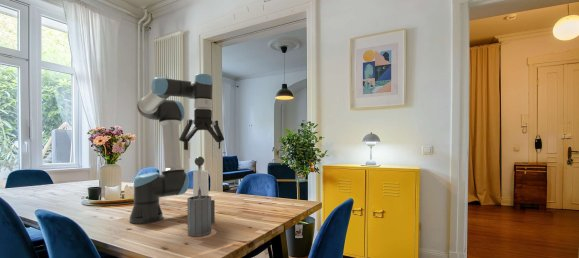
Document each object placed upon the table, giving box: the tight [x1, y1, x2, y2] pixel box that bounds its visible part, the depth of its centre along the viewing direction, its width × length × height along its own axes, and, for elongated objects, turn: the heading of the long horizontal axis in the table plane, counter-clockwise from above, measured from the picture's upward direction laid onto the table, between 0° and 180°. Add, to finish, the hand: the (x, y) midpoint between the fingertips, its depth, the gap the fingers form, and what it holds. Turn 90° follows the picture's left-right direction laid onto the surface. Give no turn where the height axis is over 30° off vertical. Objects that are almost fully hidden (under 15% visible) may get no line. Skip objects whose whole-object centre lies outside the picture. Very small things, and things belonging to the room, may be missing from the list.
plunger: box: [193, 156, 206, 200], centre depth 121 cm, size 6×6×19 cm
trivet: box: [181, 228, 218, 240], centre depth 120 cm, size 14×14×1 cm
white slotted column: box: [192, 170, 209, 197], centre depth 139 cm, size 7×7×25 cm
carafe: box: [186, 195, 216, 237], centre depth 121 cm, size 10×12×15 cm
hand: (202, 157), depth 126 cm, fingers open, 13 cm apart
